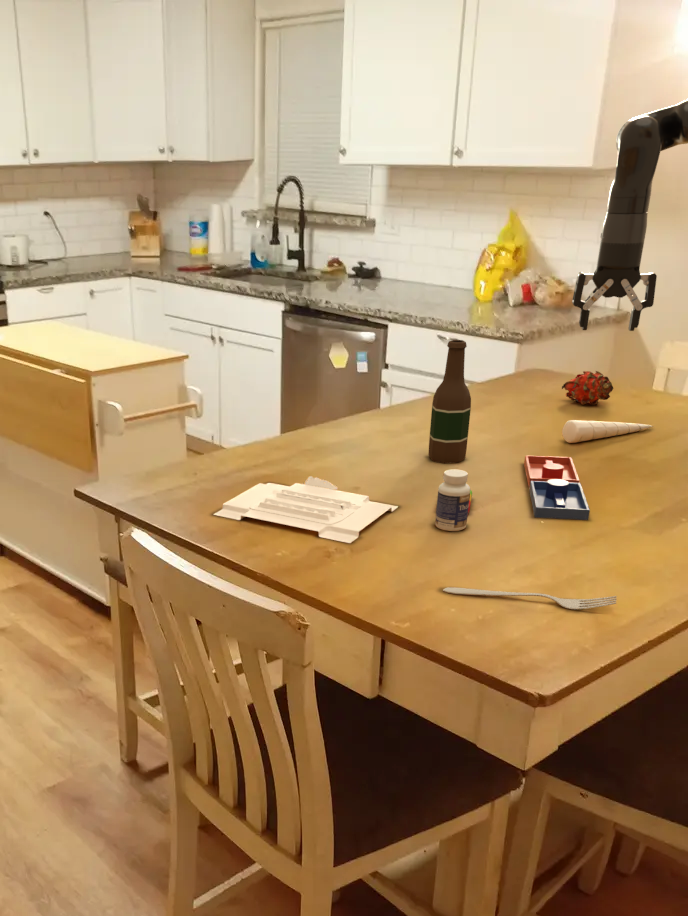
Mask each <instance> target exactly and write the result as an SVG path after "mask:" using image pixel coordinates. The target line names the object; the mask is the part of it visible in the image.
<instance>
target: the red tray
mask: <svg viewBox="0 0 688 916" xmlns="http://www.w3.org/2000/svg"><path fill="white" fill-rule="evenodd" d="M545 460H552V461H553V463H556V464H560V465H563V466H564V469H563V476H562V479H561V480H565V481H568V482H569V483H580V478H579V474H578V472H577V469H576V466H575V464H574V463H575V462H574V460H573V458H572V456H554V455H553V456H549V455H529V454H527V455H524V461H523V466H524V471H525V475H526V476H525V477H526V481H527V487H528V488H529V489H530V481H546V482H547V481H548V480H551V479H555V478H541V477H542V470H543V465H544V464H545Z"/></svg>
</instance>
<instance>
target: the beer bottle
mask: <svg viewBox="0 0 688 916" xmlns="http://www.w3.org/2000/svg"><path fill="white" fill-rule="evenodd" d="M446 347H447V348H448V350H447V356H446V364H445V370H444V375H443V379H442V382H441V383H440V384H439V386H438V387H437V388H436V390H435V392H434V393H433V398H432V403H431V414H430V415H431V416H430V427H429V437H428V438H429V439H428V457H429V458H430V460H431V461H432V462H436V463H440V464H457V463H460V462H462V461H464V460H466V455H467V448H468V441H469V431H470V430H469V429H470V419H471V409H472V396H471V393H470V389H469V387H468V386H467V384H466V382H465V381H466V380H465V359H466V358H465V354H466V348H467V347H468V345H467V342H466V341H465V340H463V339H452V340H449V341H448V343H447V345H446Z"/></svg>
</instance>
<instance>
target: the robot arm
mask: <svg viewBox="0 0 688 916" xmlns="http://www.w3.org/2000/svg"><path fill="white" fill-rule="evenodd" d="M615 139H616V140H615V146H616V150H617V158H616V165H615V175H614V179H613V181H612V182H611V186H610V190H609V195H608V200H607V207H606V213H605V218H604V221H603V224H602V230H601V233H600V241H599V243H600V244H599V248H598V256H597V260H596V261H597V262H596V268H595V271H594V272H593V273H584V272H583V271H580V272H578V273H577V275H576V280H575V287H574V290H573V295H572V298H571V299H572V300H571V303H572V305H573V306H574V307H577V308H579V309H580V313H579V321H578V325H579V327H580V328H581V330H582V331H588V330H587V329H588V325H589V319H590V312H591V311H590V308H591V307H592V306H593V305H594V304H595V303H596V302H598V300H599V299H601V297H604V298H608V299H609V298H613V297H615V298H619V299H620V298H621V299H622V298H624V297H626V296H627V298H628V299H629V301H630V303H631V304H632V306H633V307H632V308H631V312H630V318H629V321H628V322H629V323H628V331H629V332H635V329H637V328H638V327H639V325H640V319H641V313H642V311H643V310H644V309H647V308H652V307H653V306H654V302H655V294H656V285H657V278H658V277H657V276H658V275H657V274H656V273H655V272H653V271H649V272H648V273H641V270H640V268H641V264H642V263H641V261H642V256H643V252H644V251H643V250H644V245H645V239H646V234H647V227H648V214H649V213H648V212H649V207H650V201H651V196H652V190H653V189H652V187H653V181H654V177H655V174H656V169H657V166H658V163H659V159H660V155H661V152H663V151H665V150H668V149H671V148H673V147H676V146H679V145H686V144H688V99H686V100H685V99H684V100H683V101H681V102H679V103H677V104H675V105H671V106H668V107H664V108H661V109H657V110H654V111H651V112H648V113H644V114H641V115H638V116H635V117H632V118H631V119H629V120H627V121H626V122H625V123H624V124H623V125H622V126H621V127H620V128H619V130H618V133H617V135H616V138H615ZM590 281H592V282H593V285H595V287H594V289H593V290H592V291H591V292H590V293H589V294H588V296H587V297H586V298H585V299H584V300H582V296H583V292H584V287H585V286H587V285H588V284H589V282H590ZM640 281H642V284H643V285H644V286H645V293H644V299H642V300H640V299H639V297H638V295H637V293H636V292H635V290H634V288H635V287H636V286H637V285H638V283H639V282H640Z"/></svg>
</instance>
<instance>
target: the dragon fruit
mask: <svg viewBox="0 0 688 916" xmlns="http://www.w3.org/2000/svg"><path fill="white" fill-rule="evenodd" d="M582 372H583V373H579V374H577V375H576V376H575V378H572V379H570V380H567V381H566V382H564V383H563V385H562V386H561V390H563V389H564V390H565V391H567V392H565V397H567V398H568V399H569V400H570V401H575V402H576V403H580V404H581V405H582V406H584V405H585V404H588V403H590V404H591V405H598V404H599V401H600V400H601V401H607V400H608V399H610V398H611V395H610V393H612V391H613V390H614V386H613V384H612V382H611V380H610V379H609V377H608V376H604V374H603V373H602V372H601V371H599V370H595V372H594V373H593V372H592V371H589V370H583V371H582Z"/></svg>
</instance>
